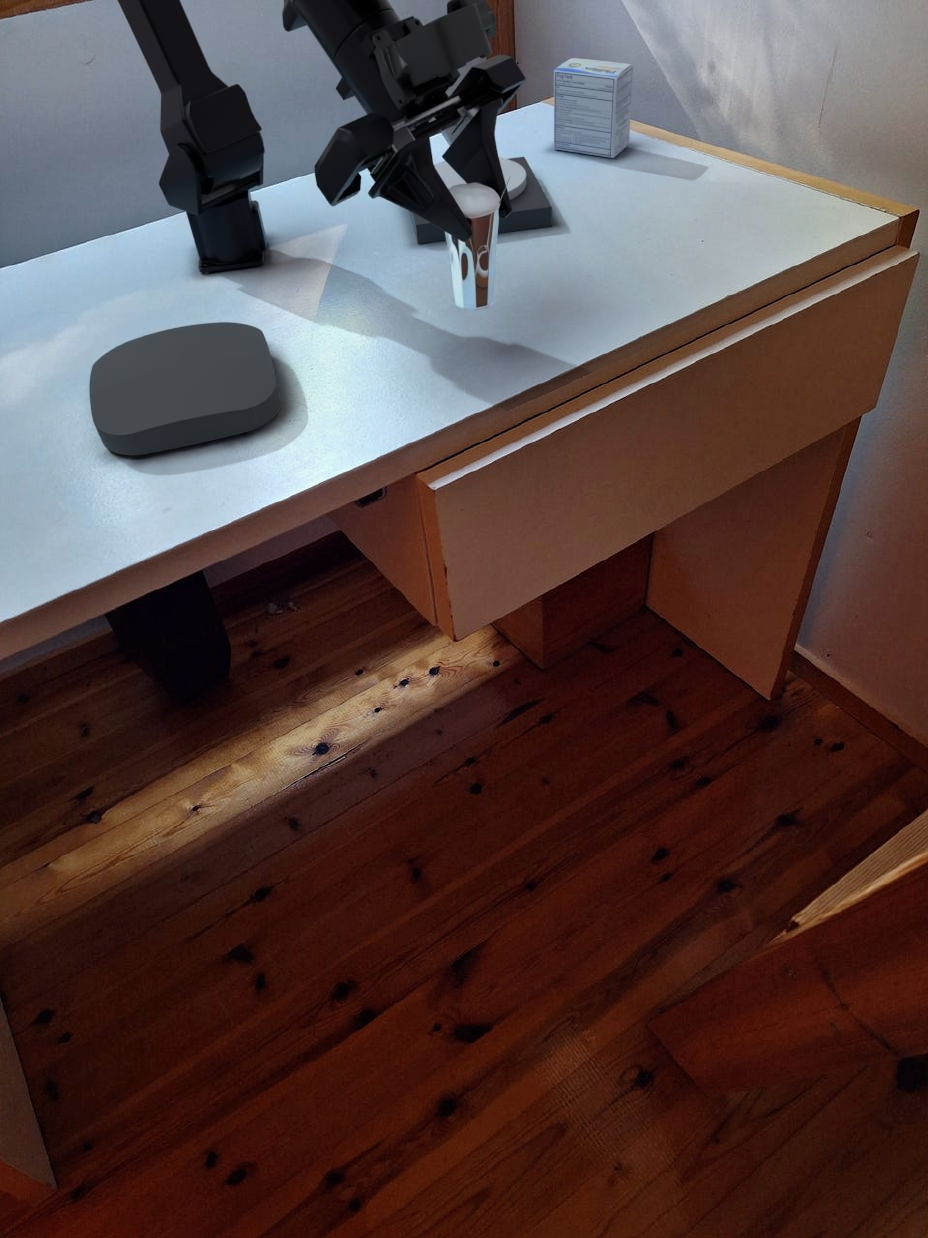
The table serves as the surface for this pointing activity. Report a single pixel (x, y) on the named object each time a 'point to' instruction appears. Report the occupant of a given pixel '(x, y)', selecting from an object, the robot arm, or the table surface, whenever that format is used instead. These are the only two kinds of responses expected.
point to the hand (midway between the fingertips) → (488, 226)
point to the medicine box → (592, 106)
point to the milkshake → (475, 247)
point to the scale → (523, 194)
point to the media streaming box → (183, 388)
